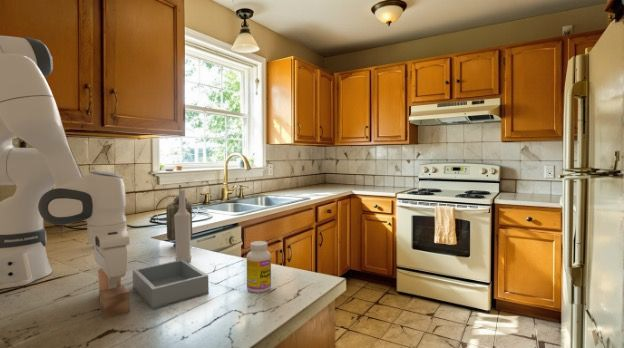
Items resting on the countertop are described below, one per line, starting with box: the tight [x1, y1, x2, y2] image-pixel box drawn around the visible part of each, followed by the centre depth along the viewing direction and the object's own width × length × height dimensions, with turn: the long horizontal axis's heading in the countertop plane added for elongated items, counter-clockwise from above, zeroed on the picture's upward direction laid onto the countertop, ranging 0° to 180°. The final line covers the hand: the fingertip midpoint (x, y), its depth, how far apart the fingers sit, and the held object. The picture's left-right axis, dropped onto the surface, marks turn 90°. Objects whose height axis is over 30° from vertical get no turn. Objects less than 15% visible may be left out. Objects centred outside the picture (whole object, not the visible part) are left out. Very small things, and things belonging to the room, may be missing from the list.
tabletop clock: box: [165, 184, 193, 248], centre depth 135 cm, size 14×9×25 cm, turn 20°
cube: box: [99, 285, 131, 320], centre depth 80 cm, size 5×5×5 cm
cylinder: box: [97, 268, 122, 299], centre depth 89 cm, size 5×5×7 cm
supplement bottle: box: [246, 240, 272, 294], centre depth 93 cm, size 7×7×13 cm
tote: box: [132, 260, 209, 311], centre depth 92 cm, size 14×18×5 cm
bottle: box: [174, 189, 192, 264], centre depth 116 cm, size 5×5×25 cm
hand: (109, 285), depth 89 cm, fingers closed on cylinder, 5 cm apart
